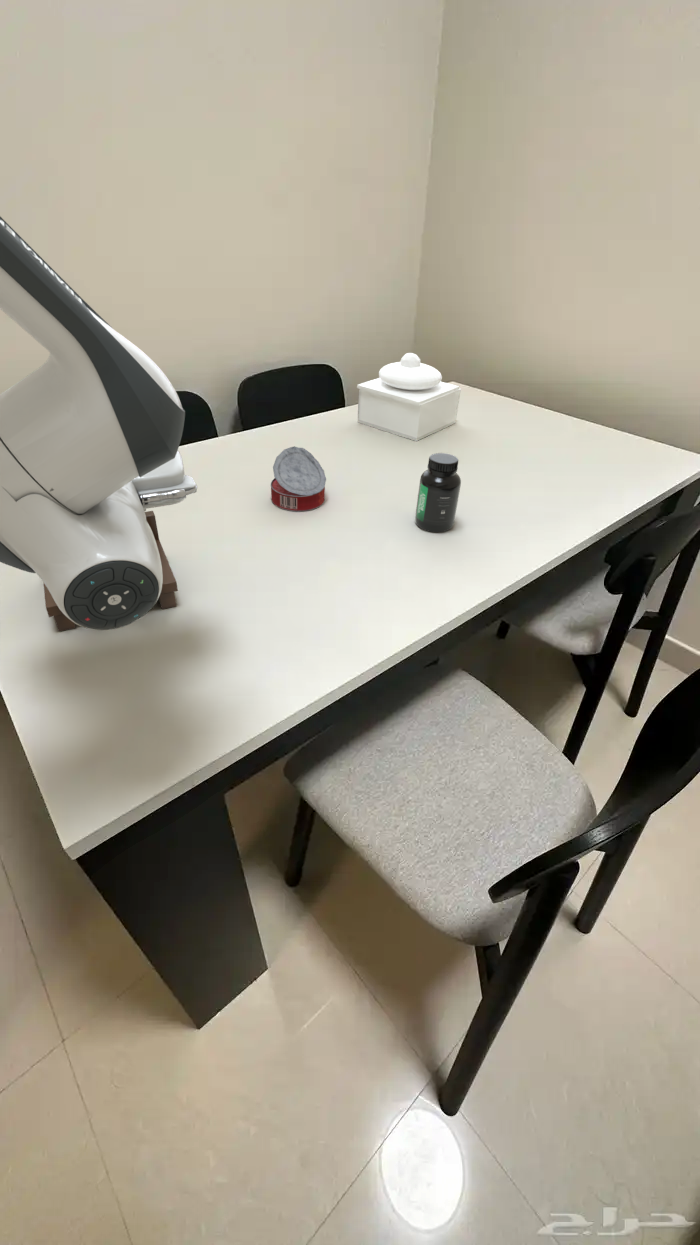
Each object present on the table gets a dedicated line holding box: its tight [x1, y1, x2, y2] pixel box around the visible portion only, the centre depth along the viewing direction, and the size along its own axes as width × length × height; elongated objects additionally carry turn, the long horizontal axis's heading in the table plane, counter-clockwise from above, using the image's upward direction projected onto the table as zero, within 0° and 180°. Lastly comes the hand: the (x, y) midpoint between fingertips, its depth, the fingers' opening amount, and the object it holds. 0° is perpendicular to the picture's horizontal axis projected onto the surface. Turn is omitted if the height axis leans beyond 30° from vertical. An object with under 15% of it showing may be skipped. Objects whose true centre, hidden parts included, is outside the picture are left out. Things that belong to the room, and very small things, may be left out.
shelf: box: [42, 510, 179, 632], centre depth 80 cm, size 16×14×8 cm
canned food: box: [270, 446, 327, 512], centre depth 106 cm, size 11×10×10 cm
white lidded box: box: [356, 352, 462, 442], centre depth 138 cm, size 18×18×16 cm
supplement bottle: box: [414, 452, 462, 533], centre depth 99 cm, size 7×7×12 cm
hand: (79, 456), depth 65 cm, fingers closed on coffee box, 8 cm apart
